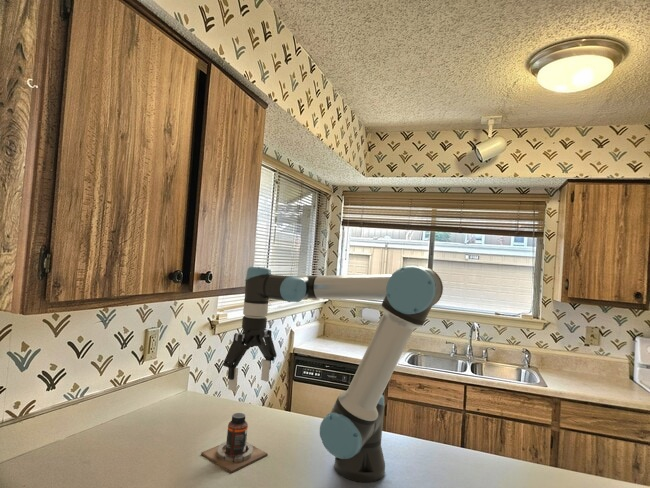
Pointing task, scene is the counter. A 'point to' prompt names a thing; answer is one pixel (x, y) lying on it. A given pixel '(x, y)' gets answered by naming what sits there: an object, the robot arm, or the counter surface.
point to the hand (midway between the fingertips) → (249, 385)
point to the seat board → (233, 466)
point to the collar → (234, 458)
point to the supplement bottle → (236, 435)
